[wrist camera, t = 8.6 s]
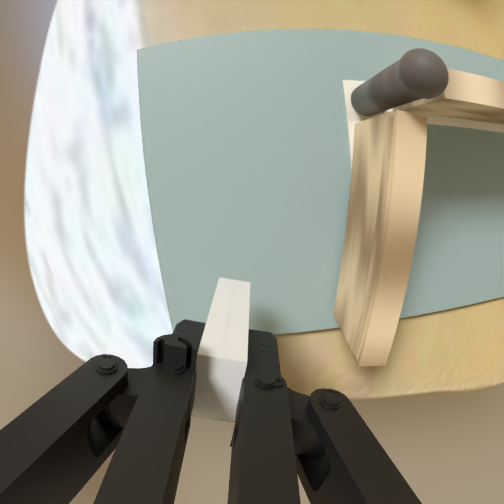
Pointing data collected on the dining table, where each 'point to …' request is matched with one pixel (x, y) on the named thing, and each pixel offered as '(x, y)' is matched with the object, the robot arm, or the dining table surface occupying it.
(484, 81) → the fence fixed
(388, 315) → the fence panel
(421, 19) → the dining table surface
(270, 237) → the board
